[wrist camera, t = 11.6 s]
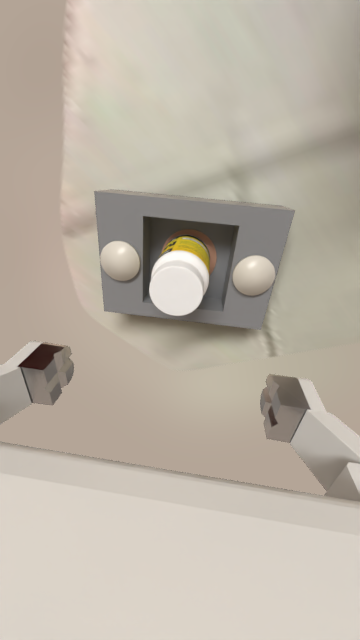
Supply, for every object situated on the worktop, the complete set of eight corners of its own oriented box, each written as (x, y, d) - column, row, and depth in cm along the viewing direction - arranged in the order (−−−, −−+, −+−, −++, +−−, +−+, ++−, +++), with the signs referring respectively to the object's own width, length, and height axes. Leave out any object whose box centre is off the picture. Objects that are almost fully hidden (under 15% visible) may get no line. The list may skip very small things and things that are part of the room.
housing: (281, 205, 23) (296, 211, 19) (254, 311, 28) (261, 331, 24) (111, 189, 23) (92, 191, 20) (116, 295, 29) (102, 312, 25)
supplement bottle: (174, 224, 23) (158, 247, 16) (218, 247, 24) (221, 278, 17) (156, 268, 26) (134, 304, 19) (196, 287, 26) (191, 330, 19)
